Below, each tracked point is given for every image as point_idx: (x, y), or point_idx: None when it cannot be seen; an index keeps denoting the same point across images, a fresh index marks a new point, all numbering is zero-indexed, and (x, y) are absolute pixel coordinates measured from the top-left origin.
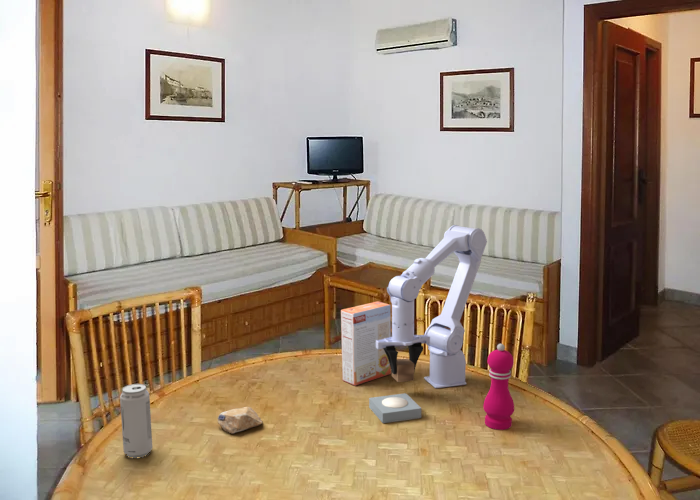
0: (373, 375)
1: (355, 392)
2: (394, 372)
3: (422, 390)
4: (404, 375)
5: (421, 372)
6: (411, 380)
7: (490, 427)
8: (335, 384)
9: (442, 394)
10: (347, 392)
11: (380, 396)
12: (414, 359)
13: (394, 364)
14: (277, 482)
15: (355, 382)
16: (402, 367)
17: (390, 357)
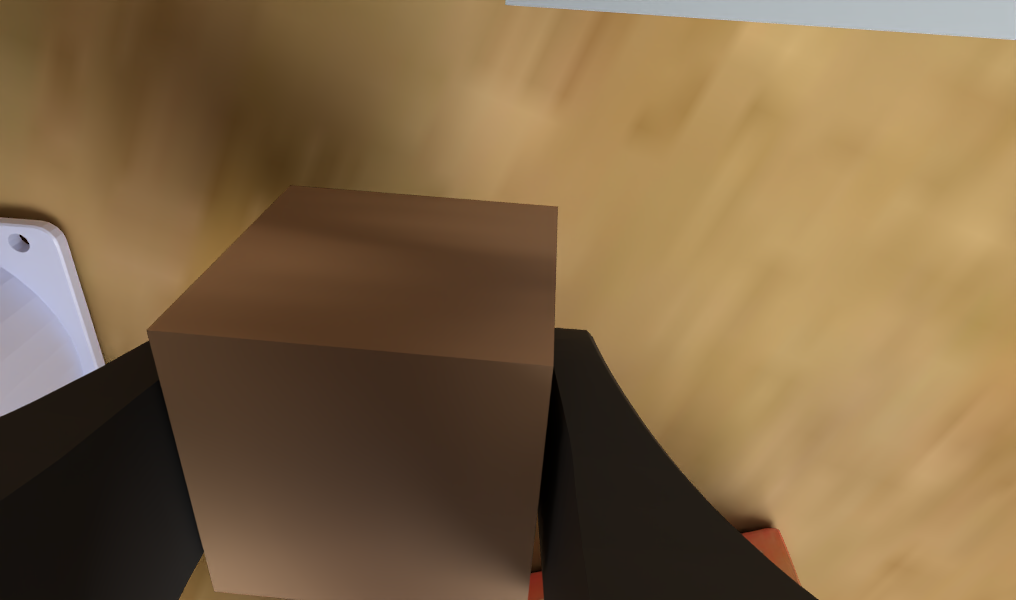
0: None
1: (855, 421)
2: (589, 341)
3: (211, 238)
4: (433, 240)
5: None
6: (330, 191)
7: None
8: (892, 595)
9: (6, 54)
10: (920, 445)
11: (914, 31)
12: (83, 428)
13: (617, 432)
14: None
15: (777, 551)
16: (454, 325)
17: (792, 593)
